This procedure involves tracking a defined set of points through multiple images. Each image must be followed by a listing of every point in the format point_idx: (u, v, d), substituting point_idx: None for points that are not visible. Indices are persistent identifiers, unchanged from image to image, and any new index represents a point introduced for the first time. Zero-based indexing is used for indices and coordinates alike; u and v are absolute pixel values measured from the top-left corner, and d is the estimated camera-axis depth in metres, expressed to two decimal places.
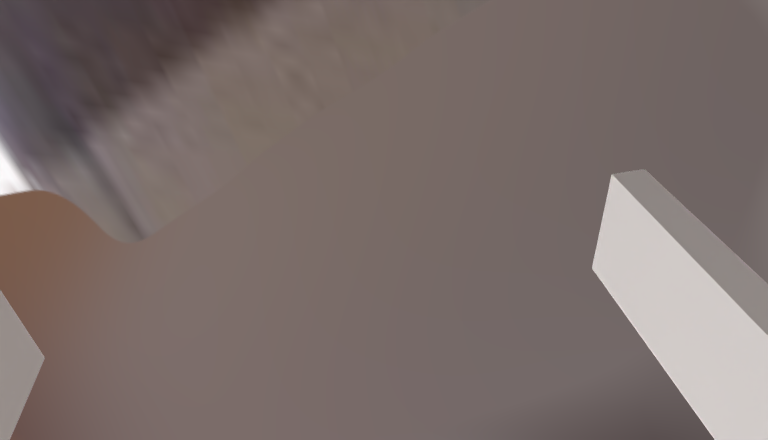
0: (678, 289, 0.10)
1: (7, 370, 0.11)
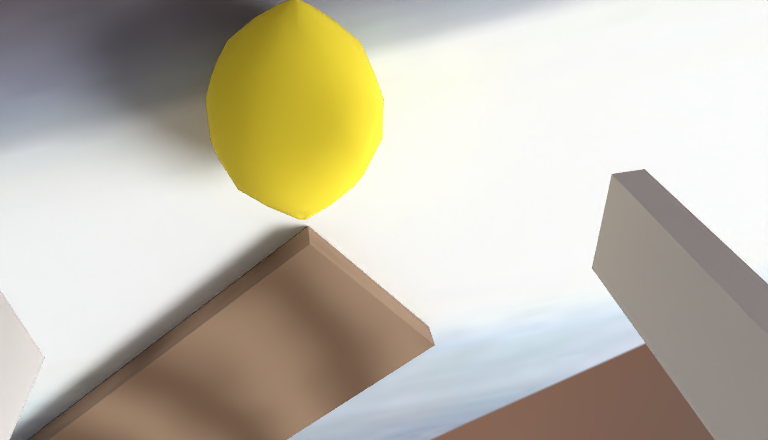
0: (678, 289, 0.10)
1: (7, 370, 0.11)
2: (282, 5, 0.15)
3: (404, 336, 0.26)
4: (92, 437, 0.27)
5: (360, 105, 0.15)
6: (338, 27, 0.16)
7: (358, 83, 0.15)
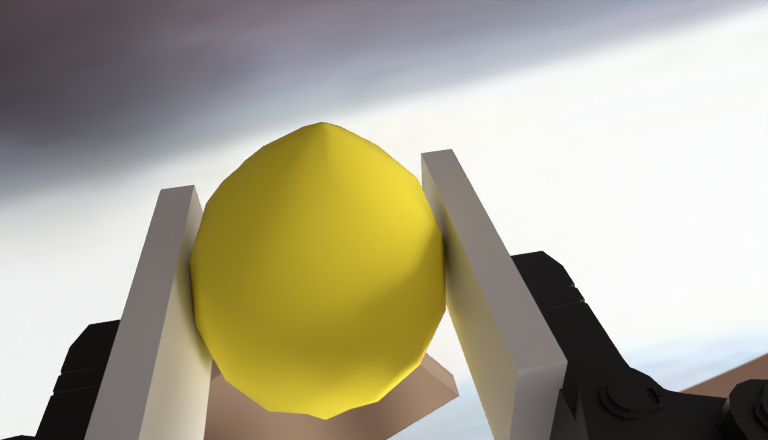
0: (451, 252, 0.11)
1: None
2: (305, 135, 0.10)
3: (428, 386, 0.25)
4: None
5: (422, 285, 0.10)
6: (388, 164, 0.10)
7: (419, 252, 0.10)
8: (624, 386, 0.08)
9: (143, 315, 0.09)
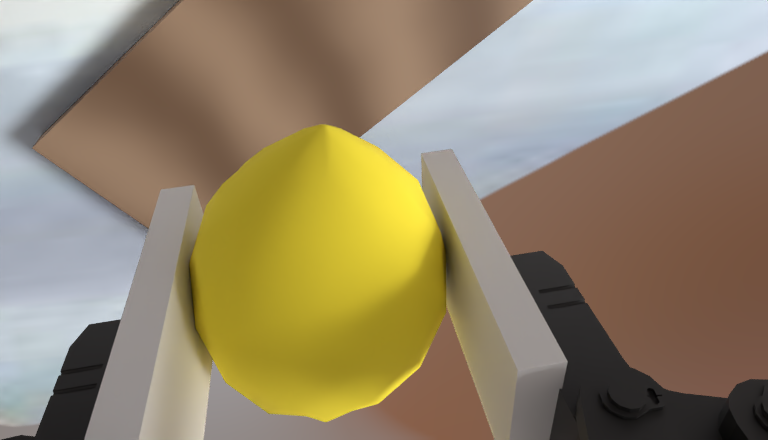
0: (451, 252, 0.11)
1: None
2: (305, 137, 0.10)
3: None
4: (165, 71, 0.22)
5: (423, 288, 0.10)
6: (388, 166, 0.10)
7: (420, 254, 0.10)
8: (624, 386, 0.08)
9: (143, 315, 0.09)
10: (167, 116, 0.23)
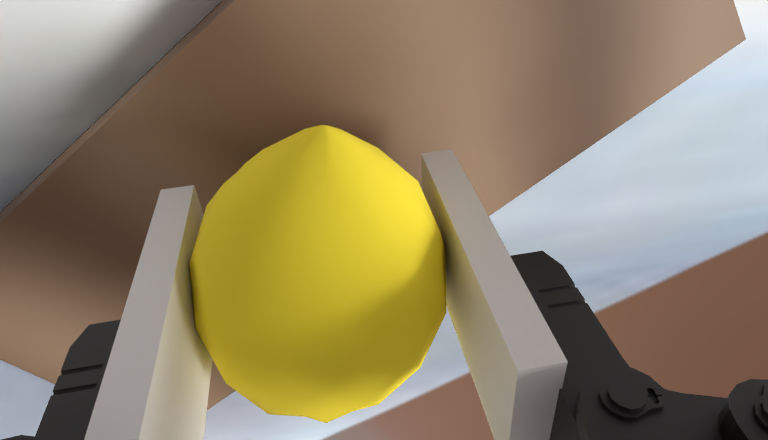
0: (450, 252, 0.11)
1: None
2: (305, 137, 0.10)
3: (704, 5, 0.14)
4: (103, 205, 0.14)
5: (423, 288, 0.10)
6: (388, 167, 0.10)
7: (420, 255, 0.10)
8: (624, 386, 0.08)
9: (143, 315, 0.09)
10: (110, 263, 0.15)
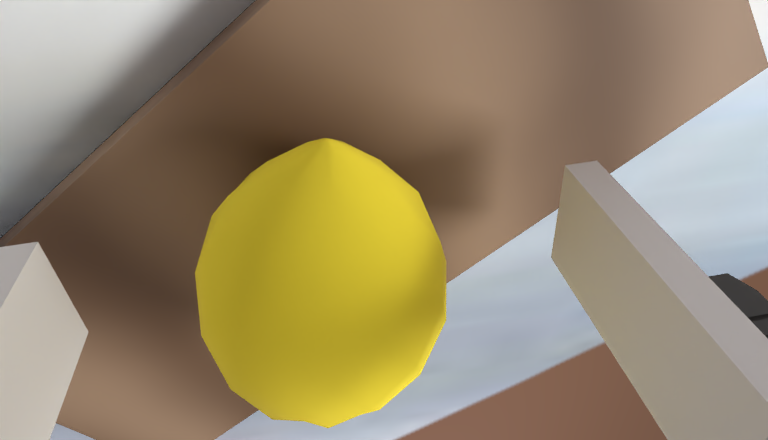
0: (621, 274, 0.11)
1: (58, 340, 0.11)
2: (308, 151, 0.10)
3: (726, 32, 0.13)
4: (99, 239, 0.14)
5: (423, 298, 0.10)
6: (389, 179, 0.11)
7: (420, 266, 0.10)
8: None
9: None
10: (106, 298, 0.15)
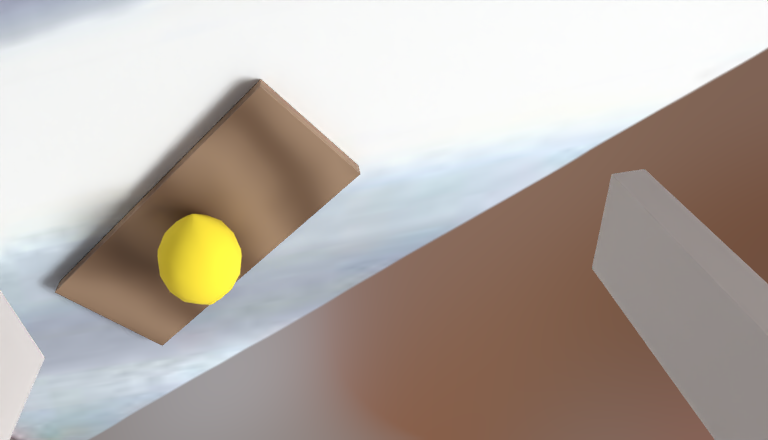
0: (679, 289, 0.10)
1: (7, 370, 0.11)
2: (186, 218, 0.35)
3: (336, 165, 0.37)
4: (127, 247, 0.39)
5: (222, 260, 0.35)
6: (212, 225, 0.35)
7: (220, 251, 0.35)
8: None
9: None
10: (131, 269, 0.40)
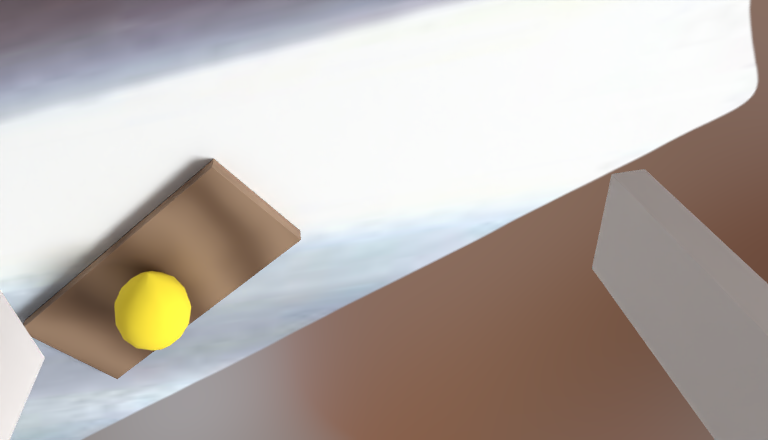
0: (678, 289, 0.10)
1: (7, 370, 0.11)
2: (141, 276, 0.40)
3: (279, 232, 0.43)
4: (88, 295, 0.43)
5: (171, 315, 0.40)
6: (164, 283, 0.40)
7: (170, 306, 0.40)
8: None
9: None
10: (91, 313, 0.44)
